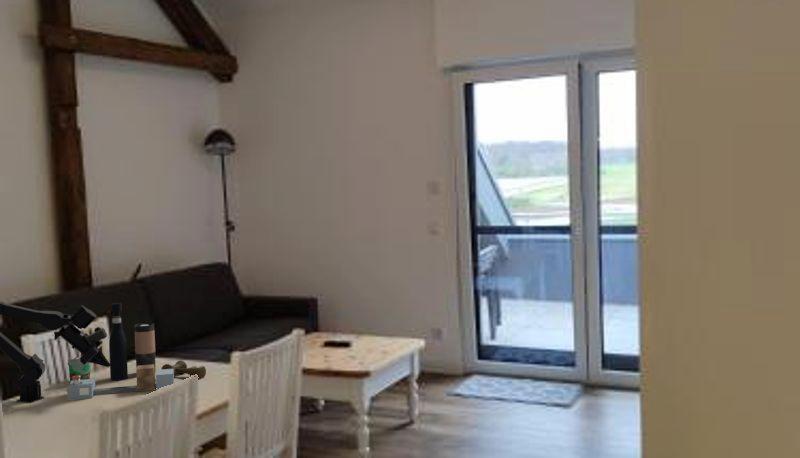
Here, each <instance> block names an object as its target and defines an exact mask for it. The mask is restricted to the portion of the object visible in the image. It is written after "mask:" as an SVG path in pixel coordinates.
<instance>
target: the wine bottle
mask: <svg viewBox="0 0 800 458" xmlns="http://www.w3.org/2000/svg"><path fill="white" fill-rule="evenodd" d="M110 308H111V309H110V312H111V313H112V320H111V321H112V323H111V333H110V336H109V339H108V340H109V342H108V349H109V355H108V356H109V363H110V366H109V374H110V375H109V376H110V381H123V380H127V379H128V378H129V377H128V376H129V370H128V350H127V348H128V347H127V338H126V334H125V332H124V330H123V321H122V318H121V312H122V310H123V309H122V308H123V307H122V302H113V303H110Z"/></svg>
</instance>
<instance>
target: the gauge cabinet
mask: <svg viewBox="0 0 800 458" xmlns="http://www.w3.org/2000/svg"><path fill="white" fill-rule="evenodd" d="M69 382H70V381H69ZM80 382H81V384H78V385H73V381H71V382H70V383H69V384H68V386H67V388H66V389H67V393H66V395H67V400H68V401H73V400H82V399H83V400H84V399H92V398H93V397H94V395H93V390H94V389H96V378H90V379H85V380H80Z"/></svg>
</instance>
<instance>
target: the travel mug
mask: <svg viewBox="0 0 800 458" xmlns="http://www.w3.org/2000/svg"><path fill="white" fill-rule="evenodd" d="M155 339H156V338H155V323H154V322H141V323H136V324H134V346H135V347H134V349H135V350H134V354H135V366H136V369H137V366H140V365H152V364H154V370H155V371H156V340H155Z"/></svg>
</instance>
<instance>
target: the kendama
mask: <svg viewBox="0 0 800 458" xmlns="http://www.w3.org/2000/svg"><path fill="white" fill-rule="evenodd" d="M164 369H174V375H175V374H179V373H184V374H186V375H189V376H190V377H191V375H195V374H197V375H198V377H199V378H198V377H197V378H198V379H199V380H201V379H204V378H205V377H206V375H207V369H206V366H204V365H200V366H199V367H197V366H196V365H193V366H191V367H187V363H186V362H185V361H184V360H178V361H176V363H175V364H173V365H172V364H169V363H165V364H163V365H162V367H161V369H160V370H164Z"/></svg>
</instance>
